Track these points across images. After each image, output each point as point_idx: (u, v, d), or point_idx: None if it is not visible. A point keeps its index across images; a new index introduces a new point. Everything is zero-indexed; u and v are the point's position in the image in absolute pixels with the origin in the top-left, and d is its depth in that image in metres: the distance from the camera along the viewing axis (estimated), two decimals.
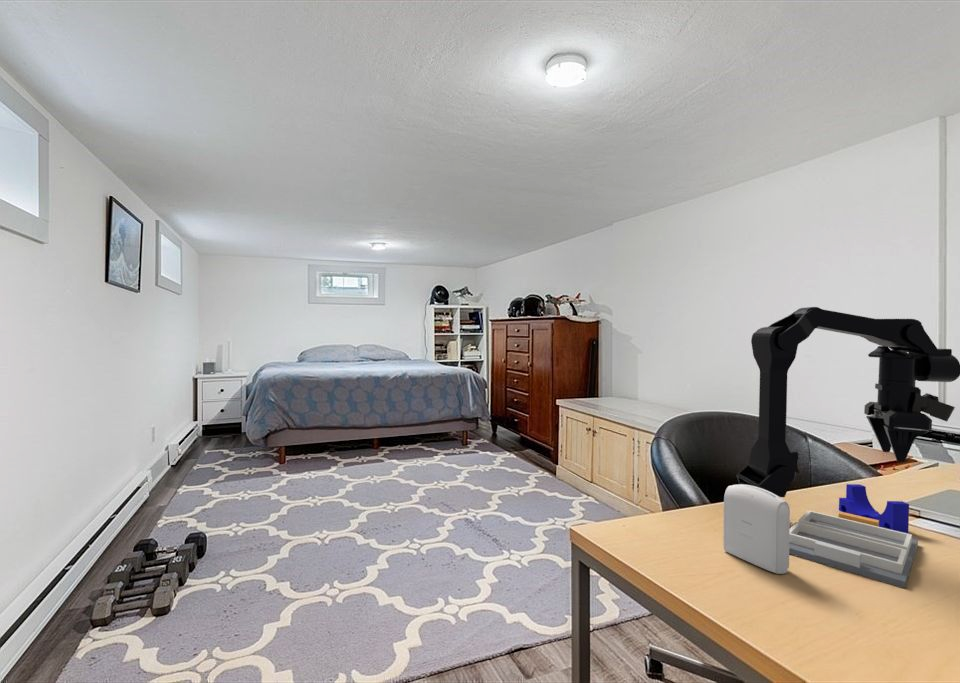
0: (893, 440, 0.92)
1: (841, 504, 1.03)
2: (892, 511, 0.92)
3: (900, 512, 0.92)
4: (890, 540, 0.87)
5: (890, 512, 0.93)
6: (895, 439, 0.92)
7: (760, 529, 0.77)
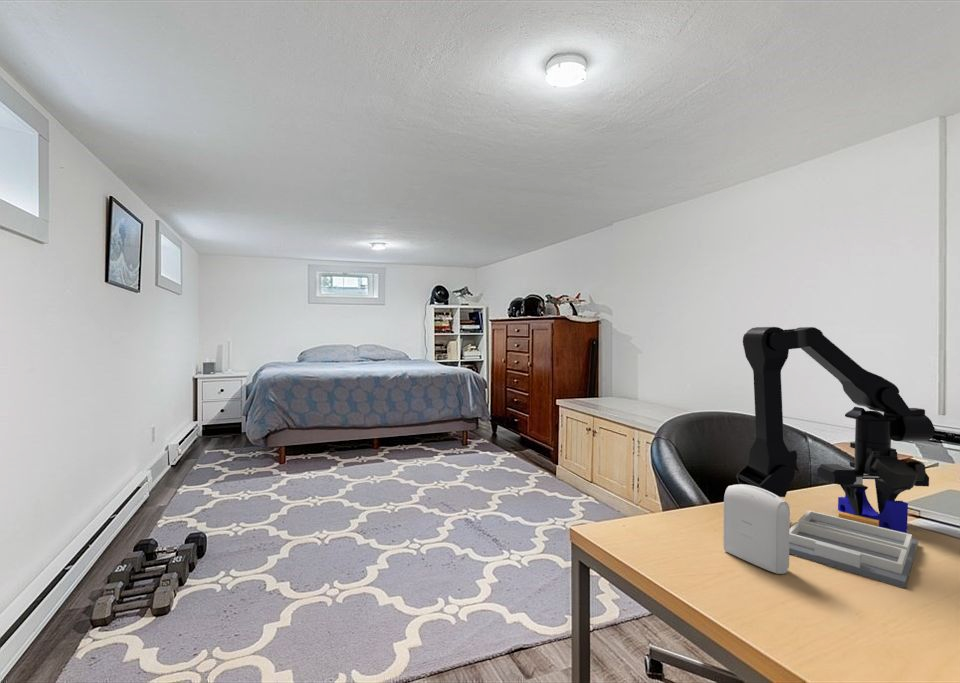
0: (846, 492, 1.00)
1: (841, 504, 1.03)
2: (891, 510, 0.92)
3: (899, 512, 0.92)
4: (890, 540, 0.87)
5: (889, 511, 0.93)
6: (846, 491, 1.00)
7: (760, 529, 0.77)
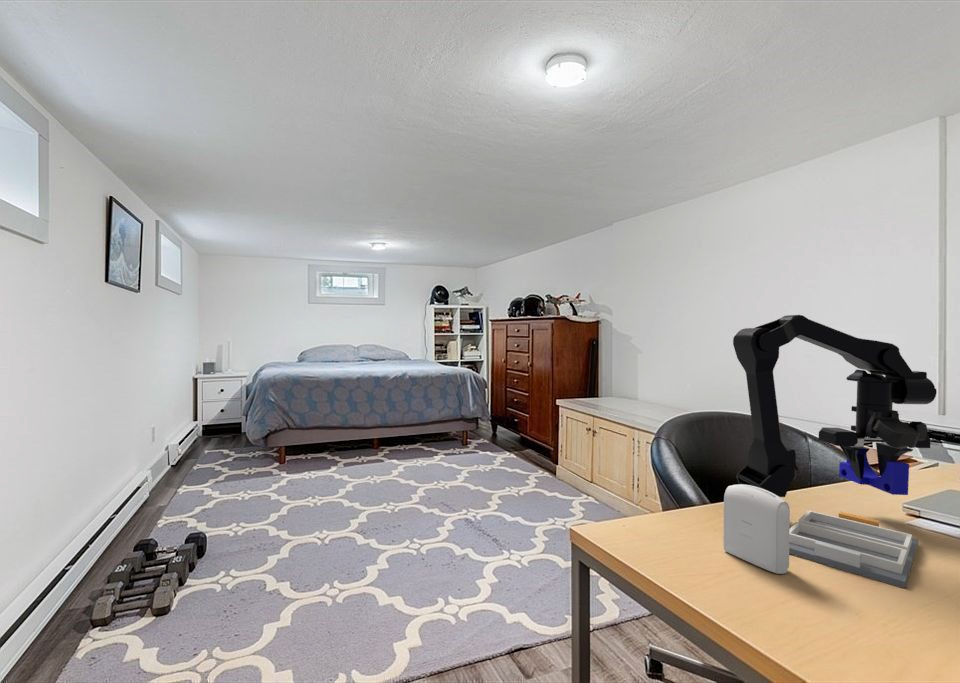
0: (847, 456, 1.00)
1: (842, 468, 1.03)
2: (892, 471, 0.92)
3: (900, 473, 0.92)
4: (890, 540, 0.87)
5: (890, 472, 0.93)
6: (848, 455, 0.99)
7: (760, 529, 0.77)
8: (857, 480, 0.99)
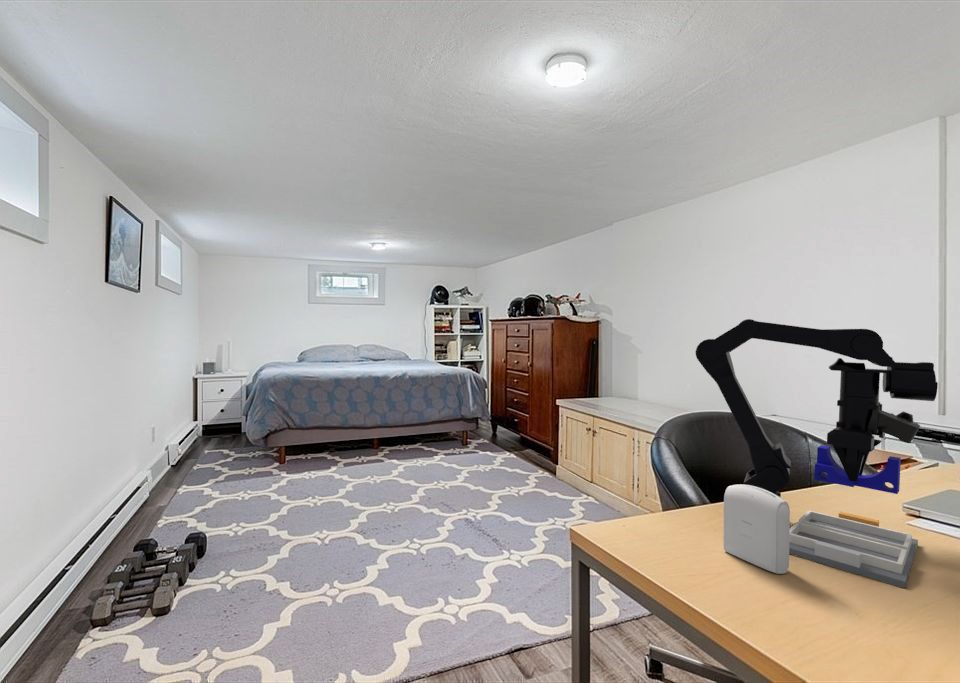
0: (841, 457, 0.88)
1: (820, 471, 0.91)
2: (896, 469, 0.85)
3: (899, 469, 0.85)
4: (890, 540, 0.87)
5: (893, 470, 0.85)
6: (843, 456, 0.87)
7: (760, 529, 0.77)
8: (848, 483, 0.88)
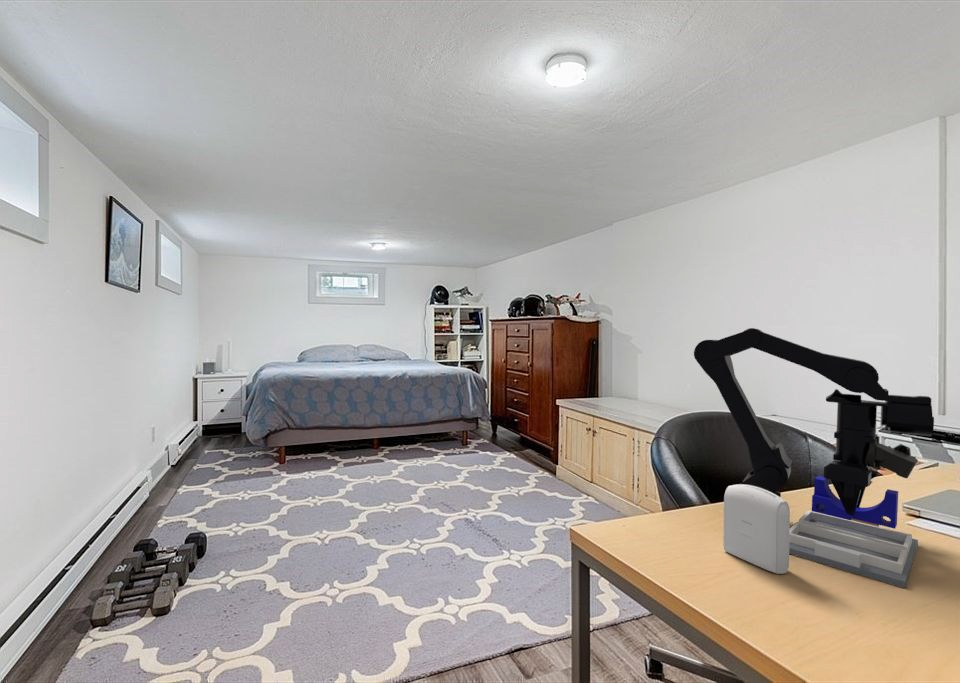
0: (838, 490, 0.87)
1: (817, 503, 0.91)
2: (894, 503, 0.84)
3: (896, 503, 0.85)
4: (890, 540, 0.87)
5: (891, 504, 0.84)
6: (840, 490, 0.87)
7: (760, 529, 0.77)
8: (845, 516, 0.88)
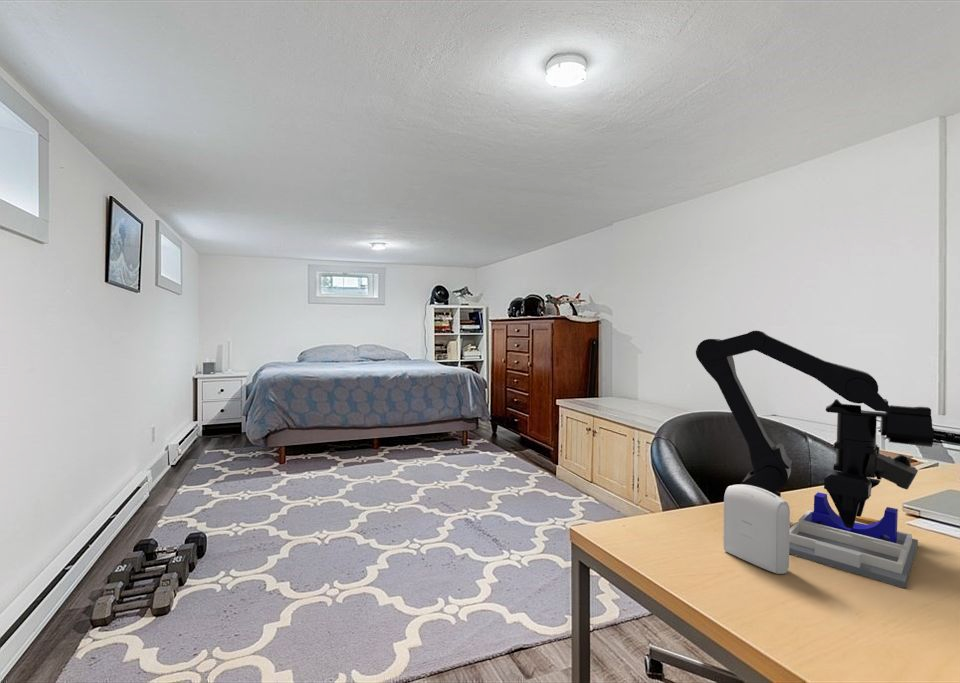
0: (837, 503, 0.86)
1: (817, 520, 0.91)
2: (893, 521, 0.84)
3: (896, 521, 0.85)
4: None
5: (890, 523, 0.84)
6: (839, 502, 0.86)
7: (760, 529, 0.77)
8: None
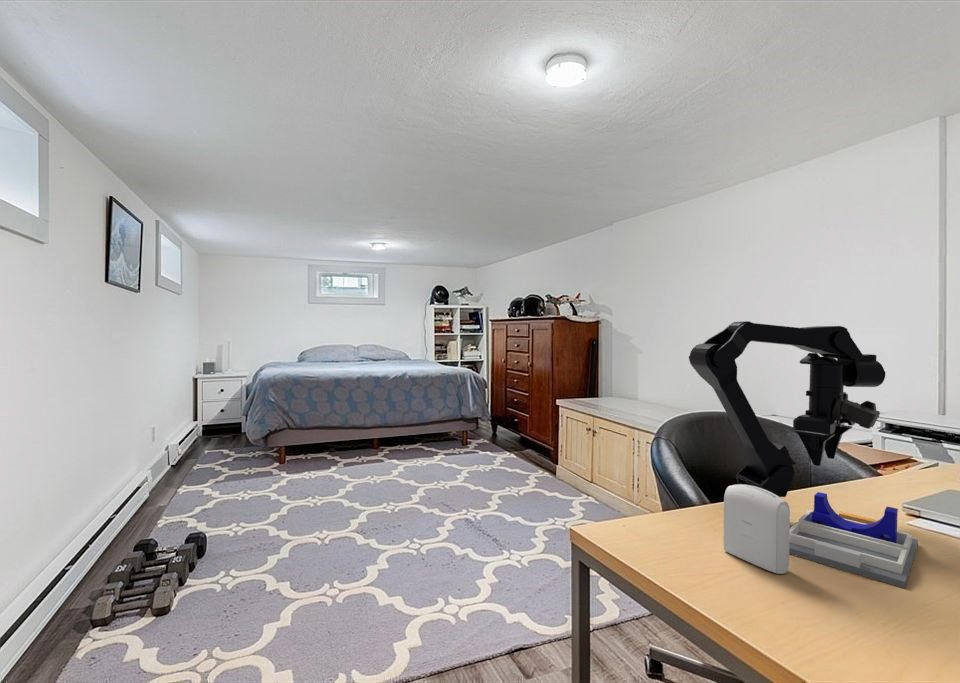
0: (805, 443, 0.96)
1: (817, 520, 0.91)
2: (893, 521, 0.84)
3: (896, 520, 0.85)
4: None
5: (890, 522, 0.84)
6: (807, 442, 0.96)
7: (760, 529, 0.77)
8: None
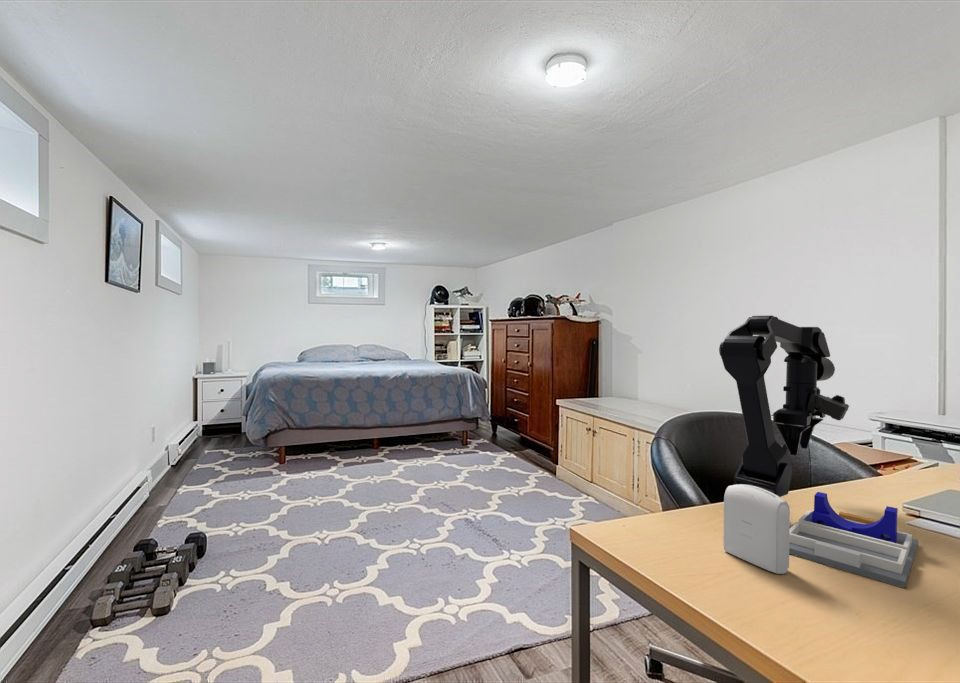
0: (784, 435, 1.04)
1: (817, 520, 0.91)
2: (893, 521, 0.84)
3: (896, 520, 0.85)
4: None
5: (890, 522, 0.85)
6: (785, 434, 1.04)
7: (760, 529, 0.77)
8: None
